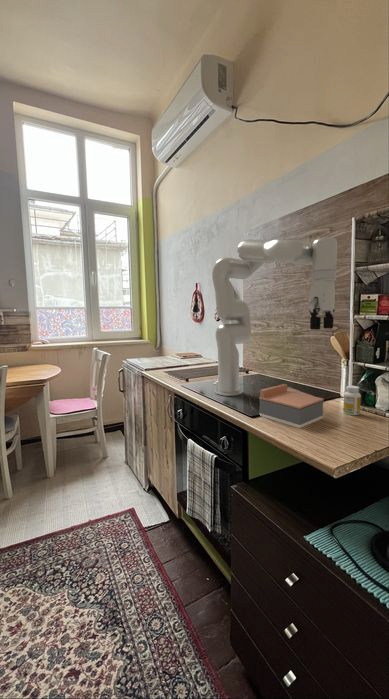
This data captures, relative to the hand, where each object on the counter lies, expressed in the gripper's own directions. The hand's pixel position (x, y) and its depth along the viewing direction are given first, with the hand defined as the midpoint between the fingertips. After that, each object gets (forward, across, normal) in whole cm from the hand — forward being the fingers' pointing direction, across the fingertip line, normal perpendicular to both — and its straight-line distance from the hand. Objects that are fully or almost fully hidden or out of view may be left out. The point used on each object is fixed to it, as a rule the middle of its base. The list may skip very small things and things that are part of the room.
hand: (321, 328), depth 105 cm
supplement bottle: (+31, -12, +6) cm, 34 cm away
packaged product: (+31, -12, -14) cm, 36 cm away
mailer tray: (+31, +7, -7) cm, 32 cm away
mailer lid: (+24, +7, -7) cm, 26 cm away
